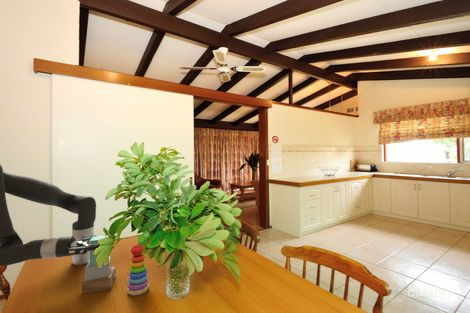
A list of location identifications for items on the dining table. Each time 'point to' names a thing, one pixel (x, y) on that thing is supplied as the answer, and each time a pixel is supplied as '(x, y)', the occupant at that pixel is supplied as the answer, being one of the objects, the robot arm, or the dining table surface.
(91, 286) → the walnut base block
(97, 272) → the grey top block
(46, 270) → the dining table surface
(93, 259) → the teal pillar block
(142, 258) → the stacking toy
